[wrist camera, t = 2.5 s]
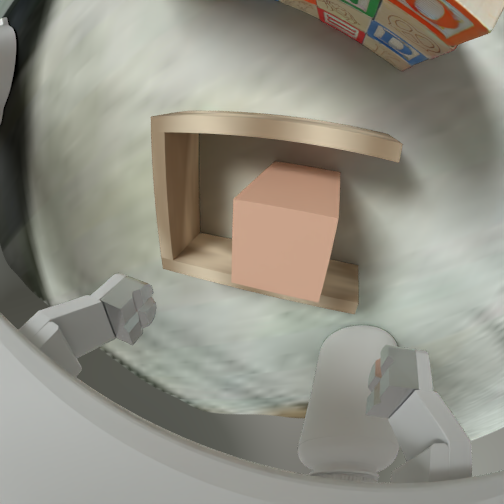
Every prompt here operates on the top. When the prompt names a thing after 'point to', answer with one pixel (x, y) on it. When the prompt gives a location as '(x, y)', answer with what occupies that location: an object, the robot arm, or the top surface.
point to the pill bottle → (347, 410)
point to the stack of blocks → (406, 24)
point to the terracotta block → (286, 230)
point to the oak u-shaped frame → (187, 191)
